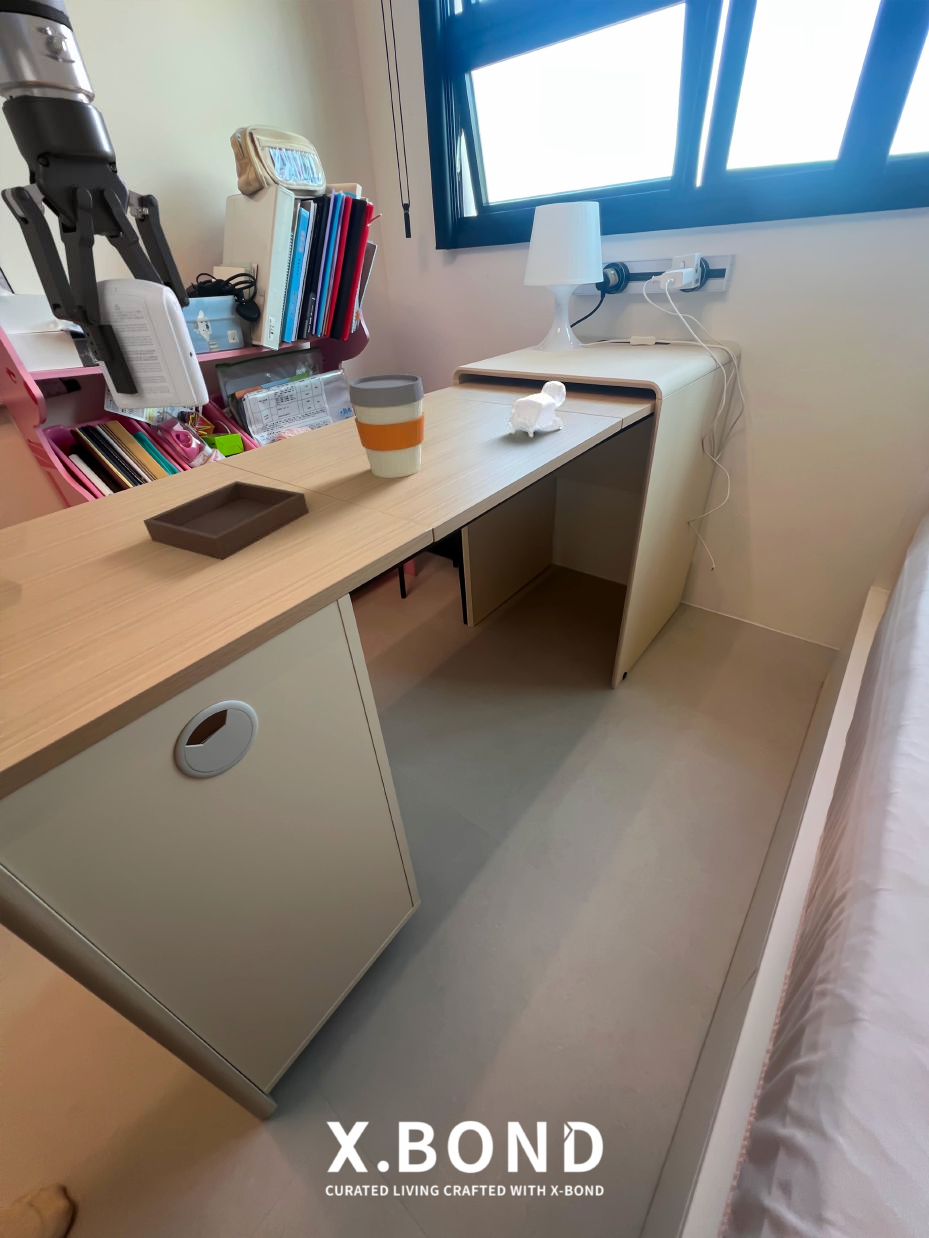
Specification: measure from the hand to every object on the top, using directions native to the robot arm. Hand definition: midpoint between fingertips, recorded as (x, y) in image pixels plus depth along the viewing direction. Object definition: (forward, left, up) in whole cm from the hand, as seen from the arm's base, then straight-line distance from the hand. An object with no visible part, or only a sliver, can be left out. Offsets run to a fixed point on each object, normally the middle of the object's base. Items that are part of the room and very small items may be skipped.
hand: (156, 385), depth 58 cm
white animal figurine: (+70, -21, -21) cm, 76 cm away
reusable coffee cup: (+36, -6, -21) cm, 42 cm away
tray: (+6, +3, -21) cm, 22 cm away
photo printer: (0, 0, -2) cm, 2 cm away
